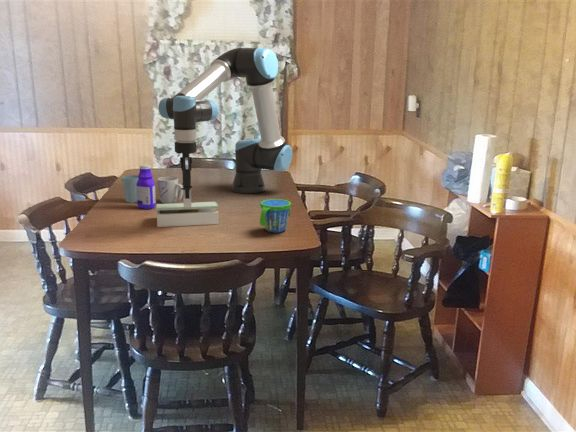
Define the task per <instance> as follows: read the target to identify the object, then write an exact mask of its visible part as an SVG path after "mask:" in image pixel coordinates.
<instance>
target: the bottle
mask: <svg viewBox="0 0 576 432" xmlns="http://www.w3.org/2000/svg"><path fill="white" fill-rule="evenodd" d="M137 175H138V177H139V179H138V181H137V202H136V203H137V207H138V208H139V209H143V210H152V209H154V208H155V207H156V206H157V197H156V183H155V180H154V178H153V177H154V175H153V173H152V170H151V164H146V163H145V164H143V163H142V164H140V165H139V173H138V174H137Z"/></svg>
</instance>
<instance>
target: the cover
mask: <svg viewBox="0 0 576 432" xmlns="http://www.w3.org/2000/svg"><path fill="white" fill-rule="evenodd" d="M155 207H156V209H155V210H156V212H157V211H159V210H183V209H207V208H216V209H219V205H218V203H217V202H216V201H203V202H202V201H201V202H200V201H199V202H198V201H196V202H191V207H184V205H183V202H179V203H178V202H175V203H169V204H164V203H156V206H155Z"/></svg>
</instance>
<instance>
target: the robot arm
mask: <svg viewBox="0 0 576 432" xmlns="http://www.w3.org/2000/svg"><path fill="white" fill-rule="evenodd" d="M278 69H279V61H278V58H277V55H276V54H275V52H274V51H272V50H271V49H270V48H264V47H245V48H244V47H237V48H232V49H230V50H228V51H226V52H224V53H222V54H221V55H219V56H217V57H216V58H215V59H214V60H213V61H211V63H210V66H209V67H208V68H207V69H206V70H204V71H203V72H202V73H201V74H200V75H199V76H197V77H196V78H195V79H193V80H192V81H191V82H190V83H188V84H187V85H186V86H185V87H183V88H182V89H181V90H180V91H179V92H178V93H176V94H175V95H174V96H173V97H164V98H162V99H161V100H159V103H158V106H157V107H158V109H157V110H158V112H159V115H160V116H161V117H162V118H164V119H170V120H173V130H174V131H172V135H173V136H174V141H175V142H174V152H175V154H182V155H181V156H182V157H181V156H180V157H179V160H180V168H181V171H182V173H181V174H182V184H181V185H182V186H183V188H181V190H183V195H182V201H183V202H182V203H183V205H184V207H191V203H192V188H193V185H192V181H191V180H192V179H191V178H192V175H191V174H192V173H191V171H192V163H193V159H192V156H190V154H195V153H197V142H196V140H197V128H196V127H197V123H201V122H202V123H203V122H210V121H213V120H215V119H216V118H217V117H218V115H219V107H218V104H217V103H216V101H214V100H212V99H204V98H205V97H207V96H208V95H210V93H212V92H213V91H214V90H215V89H216V88H217V87H218V86H220V84H222V83H225V82H228V81H229V80H230V79H234V78H245V83H246V86H248V87H250V88H251V93H252V99H253V103H254V109H255V114H256V120H257V125H258V130H259V135H260V138H251V139H250V138H247V139H242V140H238V141H237V142H235V148H234V155H235V157H234V158H235V163H234V164H235V175H234V178H233V181H232V183H231V191H232V192H234V193H235V192H236V193H241V194H257V193H261V192H265V190H266V184H265V180H264V177H263V174H262V170H266V171H274V172H285V171H287V169H289V167H290V166H291V162H292V161H293V148H292V147H291V145H289V144H286V140H285V137H283V136H281V131H280V125H279V119H278V117H279V116H278V111H277V107H276V100H275V95H274V88H273V84H274V81H276V80H275V78H276V77H277V75H278V72H279V70H278Z"/></svg>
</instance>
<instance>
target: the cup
mask: <svg viewBox="0 0 576 432" xmlns="http://www.w3.org/2000/svg"><path fill="white" fill-rule="evenodd" d="M138 175H139V174H129V175H122V177H121V182H122V188H123V193H124V199H125V202H126V203H137V181H138V179H139V177H138Z"/></svg>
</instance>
